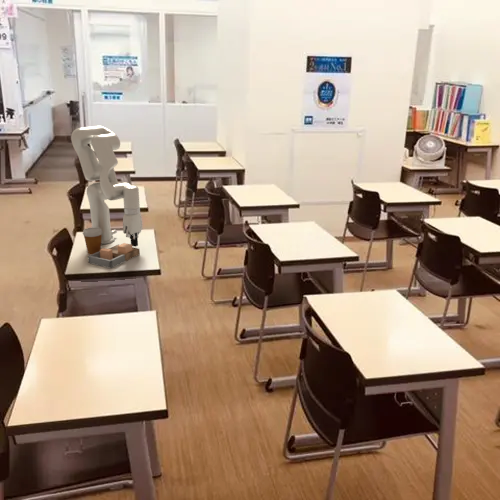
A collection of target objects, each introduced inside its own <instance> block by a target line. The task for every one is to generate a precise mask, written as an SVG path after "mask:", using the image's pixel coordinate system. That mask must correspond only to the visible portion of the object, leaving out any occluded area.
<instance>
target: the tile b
mask: <svg viewBox="0 0 500 500" xmlns="http://www.w3.org/2000/svg"><path fill="white" fill-rule="evenodd" d="M132 247H133V246H132V244H131V243H126V242H123V243H121V244H119V246H118V252H122V253H128V252H130V251H132V250H133V249H132Z"/></svg>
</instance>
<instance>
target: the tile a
mask: <svg viewBox="0 0 500 500" xmlns="http://www.w3.org/2000/svg"><path fill="white" fill-rule="evenodd" d="M100 258H103V259H107V260H112V259H113V255H112V249H109V248H107V247H103V248H101V249H100Z"/></svg>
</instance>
